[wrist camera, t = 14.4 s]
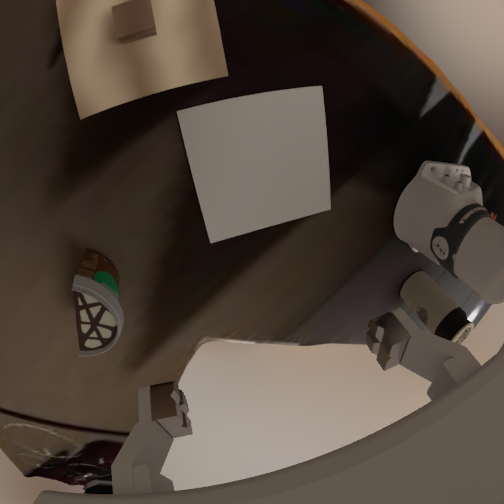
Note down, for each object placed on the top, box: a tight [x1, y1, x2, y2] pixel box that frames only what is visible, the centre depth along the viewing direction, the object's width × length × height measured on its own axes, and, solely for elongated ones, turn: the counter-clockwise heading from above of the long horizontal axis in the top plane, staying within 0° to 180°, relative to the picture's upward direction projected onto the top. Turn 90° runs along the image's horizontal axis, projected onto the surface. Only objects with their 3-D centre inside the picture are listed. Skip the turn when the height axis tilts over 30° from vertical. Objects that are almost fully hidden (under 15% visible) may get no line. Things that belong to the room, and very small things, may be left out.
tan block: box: [56, 0, 228, 120], centre depth 20 cm, size 14×14×11 cm
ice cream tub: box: [72, 249, 124, 356], centre depth 35 cm, size 12×6×10 cm, turn 161°
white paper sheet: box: [177, 86, 331, 243], centre depth 37 cm, size 18×18×1 cm
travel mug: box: [400, 271, 474, 345], centre depth 54 cm, size 8×8×18 cm
